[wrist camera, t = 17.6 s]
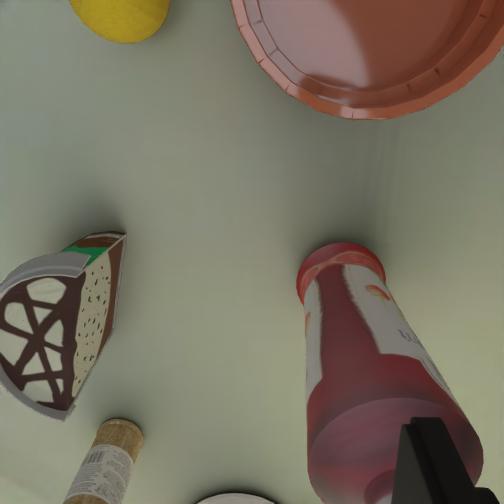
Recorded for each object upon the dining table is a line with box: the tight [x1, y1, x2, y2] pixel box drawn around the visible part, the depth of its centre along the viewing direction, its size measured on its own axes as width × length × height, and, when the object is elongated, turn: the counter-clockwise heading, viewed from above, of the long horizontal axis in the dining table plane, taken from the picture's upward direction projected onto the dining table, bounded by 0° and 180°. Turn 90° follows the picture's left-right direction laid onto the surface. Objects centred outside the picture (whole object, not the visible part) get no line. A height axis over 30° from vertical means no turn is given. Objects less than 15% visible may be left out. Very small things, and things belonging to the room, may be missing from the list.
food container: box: [0, 231, 127, 422], centre depth 33 cm, size 12×6×10 cm, turn 167°
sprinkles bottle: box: [63, 419, 143, 504], centre depth 38 cm, size 5×5×14 cm
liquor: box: [296, 243, 483, 504], centre depth 24 cm, size 7×7×28 cm
